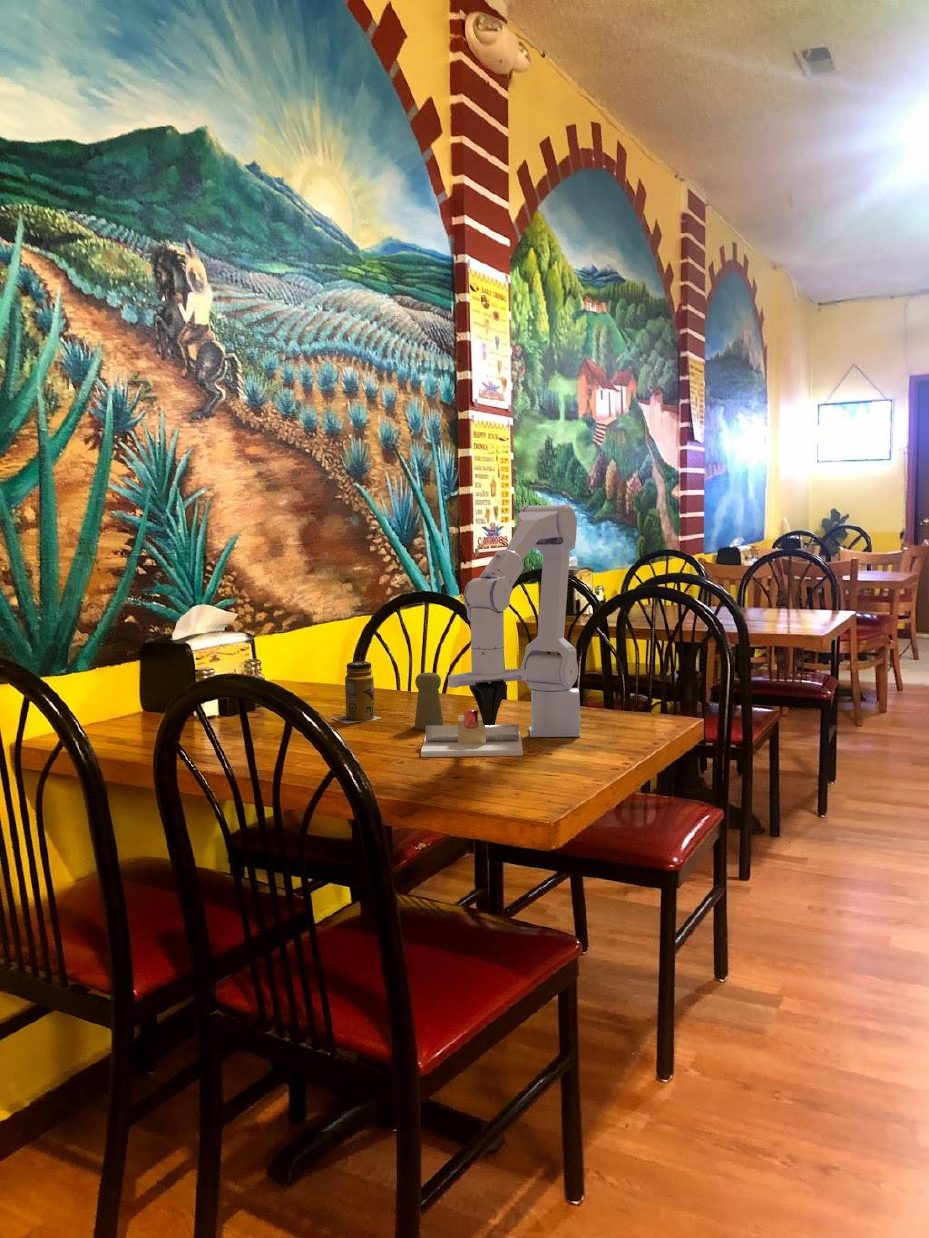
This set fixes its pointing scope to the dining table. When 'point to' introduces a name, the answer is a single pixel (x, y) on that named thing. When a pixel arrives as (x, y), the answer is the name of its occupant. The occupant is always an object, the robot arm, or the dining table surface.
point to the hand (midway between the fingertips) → (488, 724)
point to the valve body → (472, 733)
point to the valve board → (472, 749)
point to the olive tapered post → (428, 701)
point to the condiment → (358, 693)
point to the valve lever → (470, 718)
